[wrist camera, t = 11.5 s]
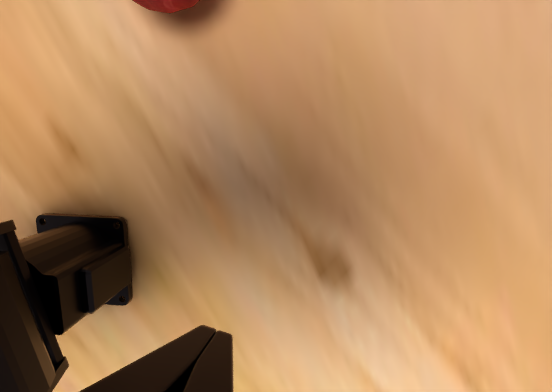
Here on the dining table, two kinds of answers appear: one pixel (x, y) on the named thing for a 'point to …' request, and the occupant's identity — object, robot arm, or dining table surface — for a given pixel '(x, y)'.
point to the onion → (166, 5)
